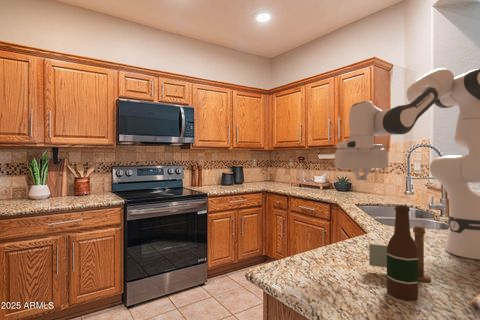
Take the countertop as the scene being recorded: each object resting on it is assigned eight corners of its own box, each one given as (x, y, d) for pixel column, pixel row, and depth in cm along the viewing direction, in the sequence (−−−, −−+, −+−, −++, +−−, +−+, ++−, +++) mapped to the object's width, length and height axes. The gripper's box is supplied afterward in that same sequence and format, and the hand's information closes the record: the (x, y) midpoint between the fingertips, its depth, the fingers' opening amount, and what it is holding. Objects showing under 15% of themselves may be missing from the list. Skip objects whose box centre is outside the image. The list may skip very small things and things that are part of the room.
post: (420, 273, 88) (420, 223, 88) (435, 281, 82) (435, 227, 82) (403, 274, 87) (403, 223, 87) (418, 282, 81) (417, 228, 81)
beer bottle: (424, 303, 69) (424, 208, 69) (391, 299, 71) (391, 207, 71) (412, 289, 77) (412, 204, 77) (382, 286, 78) (382, 203, 79)
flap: (411, 269, 86) (411, 247, 86) (412, 271, 85) (412, 248, 85) (369, 264, 90) (369, 243, 90) (369, 265, 89) (369, 244, 89)
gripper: (380, 144, 108) (380, 179, 108) (332, 144, 105) (332, 179, 105) (391, 143, 102) (391, 180, 102) (340, 143, 99) (340, 180, 99)
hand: (361, 180), depth 104 cm, fingers closed
